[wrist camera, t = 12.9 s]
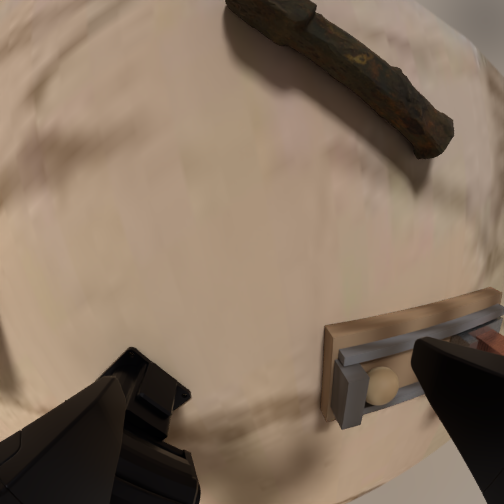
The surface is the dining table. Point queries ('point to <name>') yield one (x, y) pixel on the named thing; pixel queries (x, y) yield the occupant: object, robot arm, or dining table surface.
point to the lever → (483, 337)
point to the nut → (381, 386)
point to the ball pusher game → (391, 350)
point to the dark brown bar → (351, 68)
